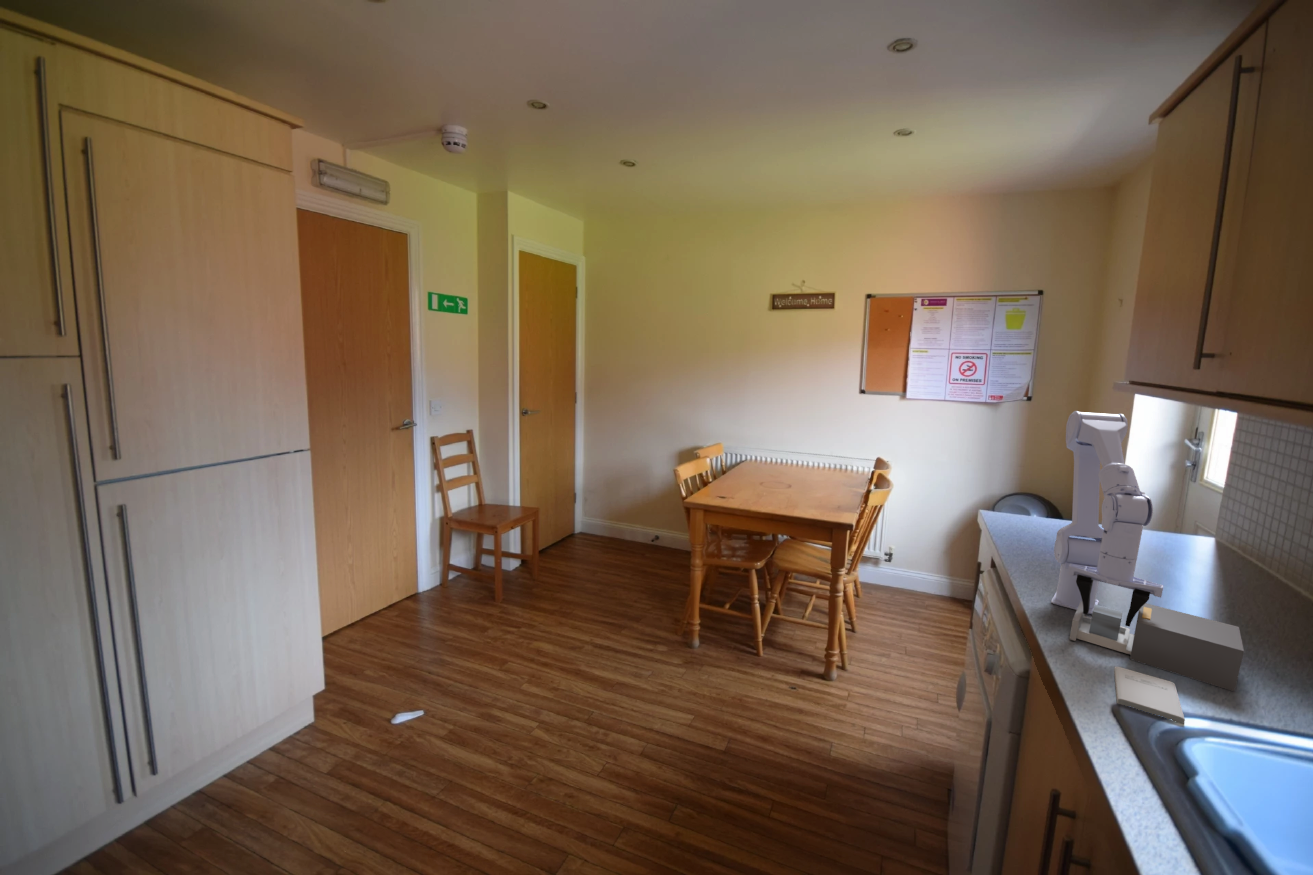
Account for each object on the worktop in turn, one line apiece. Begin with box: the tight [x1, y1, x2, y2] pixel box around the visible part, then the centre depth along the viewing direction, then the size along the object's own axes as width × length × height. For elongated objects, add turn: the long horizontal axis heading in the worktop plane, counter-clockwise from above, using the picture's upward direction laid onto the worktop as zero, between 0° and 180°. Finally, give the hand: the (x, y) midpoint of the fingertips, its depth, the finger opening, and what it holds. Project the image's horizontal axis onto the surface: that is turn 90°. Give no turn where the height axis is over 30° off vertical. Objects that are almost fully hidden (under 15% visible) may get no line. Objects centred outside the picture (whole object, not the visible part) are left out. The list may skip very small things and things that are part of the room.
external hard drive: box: [1113, 666, 1186, 725], centre depth 96 cm, size 2×8×12 cm
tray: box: [1069, 601, 1134, 656], centre depth 112 cm, size 12×14×4 cm
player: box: [1129, 602, 1245, 693], centre depth 106 cm, size 12×14×8 cm
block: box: [1089, 604, 1123, 641], centre depth 113 cm, size 4×4×5 cm
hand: (1106, 618), depth 113 cm, fingers open, 6 cm apart
